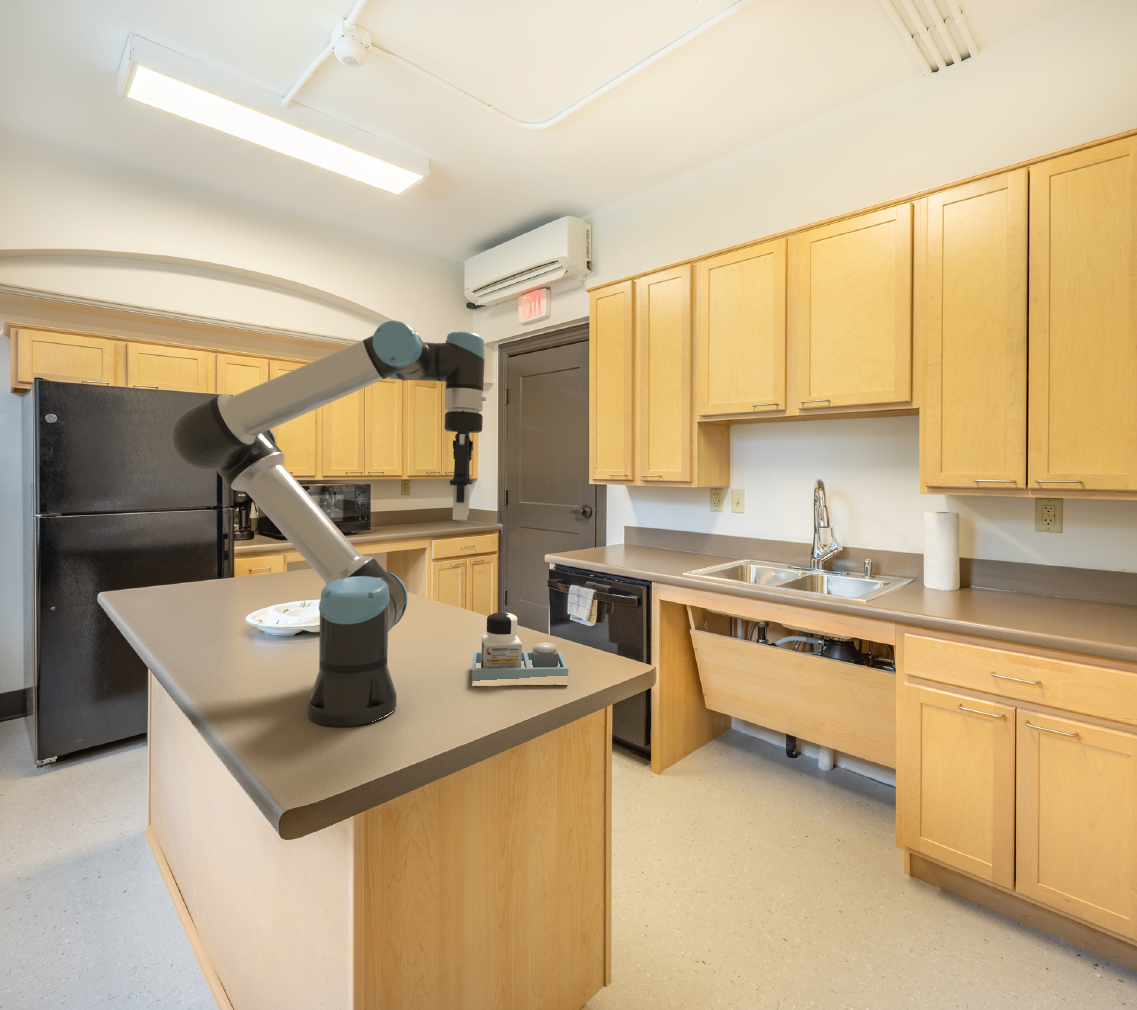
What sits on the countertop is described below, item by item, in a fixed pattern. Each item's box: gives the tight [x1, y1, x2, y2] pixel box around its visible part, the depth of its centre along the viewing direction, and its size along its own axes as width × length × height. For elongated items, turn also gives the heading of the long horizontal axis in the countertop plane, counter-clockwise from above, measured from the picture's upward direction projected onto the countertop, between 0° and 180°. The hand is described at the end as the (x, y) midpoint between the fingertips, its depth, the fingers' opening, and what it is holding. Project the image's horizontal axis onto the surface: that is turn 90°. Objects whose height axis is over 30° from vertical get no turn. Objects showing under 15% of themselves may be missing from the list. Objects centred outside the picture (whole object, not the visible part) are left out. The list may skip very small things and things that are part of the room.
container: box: [480, 612, 523, 668], centre depth 128 cm, size 8×8×13 cm
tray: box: [471, 641, 569, 682], centre depth 129 cm, size 20×12×7 cm, turn 98°
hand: (461, 517), depth 121 cm, fingers open, 13 cm apart
